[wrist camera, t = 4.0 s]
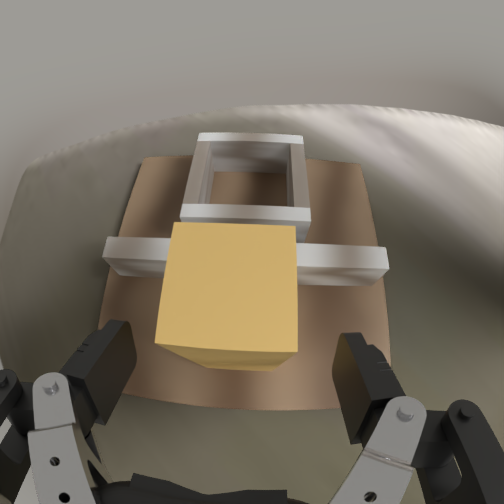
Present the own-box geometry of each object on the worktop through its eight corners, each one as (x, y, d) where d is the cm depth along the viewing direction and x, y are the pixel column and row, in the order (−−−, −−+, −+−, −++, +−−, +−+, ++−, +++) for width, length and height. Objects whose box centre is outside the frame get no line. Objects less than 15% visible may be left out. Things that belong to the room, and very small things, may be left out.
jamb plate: (357, 171, 25) (371, 136, 21) (384, 401, 16) (418, 401, 12) (147, 164, 25) (134, 129, 21) (97, 385, 16) (61, 381, 12)
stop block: (273, 309, 18) (295, 226, 9) (271, 371, 16) (297, 352, 7) (211, 306, 18) (174, 221, 9) (206, 367, 16) (154, 342, 7)
